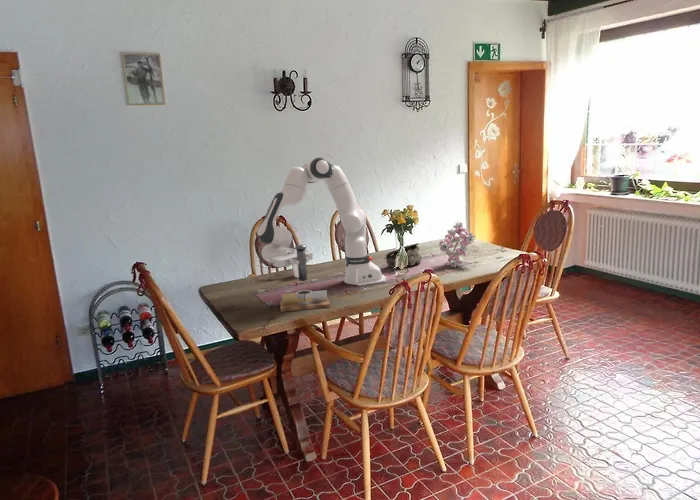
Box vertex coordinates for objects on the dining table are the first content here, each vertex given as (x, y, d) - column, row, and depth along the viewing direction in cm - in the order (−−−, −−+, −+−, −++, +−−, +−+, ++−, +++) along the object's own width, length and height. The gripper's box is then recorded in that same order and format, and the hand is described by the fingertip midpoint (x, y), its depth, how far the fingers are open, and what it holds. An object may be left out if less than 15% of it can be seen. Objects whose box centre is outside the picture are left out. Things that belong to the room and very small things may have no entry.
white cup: (291, 278, 300) (290, 261, 298) (295, 274, 307) (293, 257, 305) (305, 278, 299) (304, 260, 296) (308, 274, 306) (307, 257, 304)
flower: (423, 260, 315) (433, 226, 300) (449, 250, 328) (460, 216, 313) (447, 280, 304) (459, 245, 289) (473, 268, 316) (485, 235, 301)
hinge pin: (308, 277, 252) (305, 244, 248) (308, 280, 247) (306, 246, 243) (297, 278, 251) (295, 245, 247) (298, 281, 246) (295, 247, 242)
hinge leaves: (326, 297, 256) (325, 288, 255) (328, 303, 249) (327, 292, 248) (282, 302, 254) (281, 292, 253) (282, 307, 246) (281, 297, 245)
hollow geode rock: (388, 279, 305) (400, 263, 294) (376, 261, 309) (388, 246, 299) (421, 267, 322) (433, 252, 312) (409, 251, 327) (421, 236, 317)
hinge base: (328, 299, 258) (328, 296, 258) (330, 307, 248) (330, 303, 247) (280, 304, 256) (280, 301, 255) (280, 311, 245) (280, 308, 245)
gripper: (266, 255, 249) (284, 259, 239) (301, 246, 262) (319, 250, 252) (267, 268, 250) (285, 272, 240) (302, 259, 263) (320, 263, 253)
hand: (302, 261), depth 246 cm, fingers closed on hinge pin, 4 cm apart
